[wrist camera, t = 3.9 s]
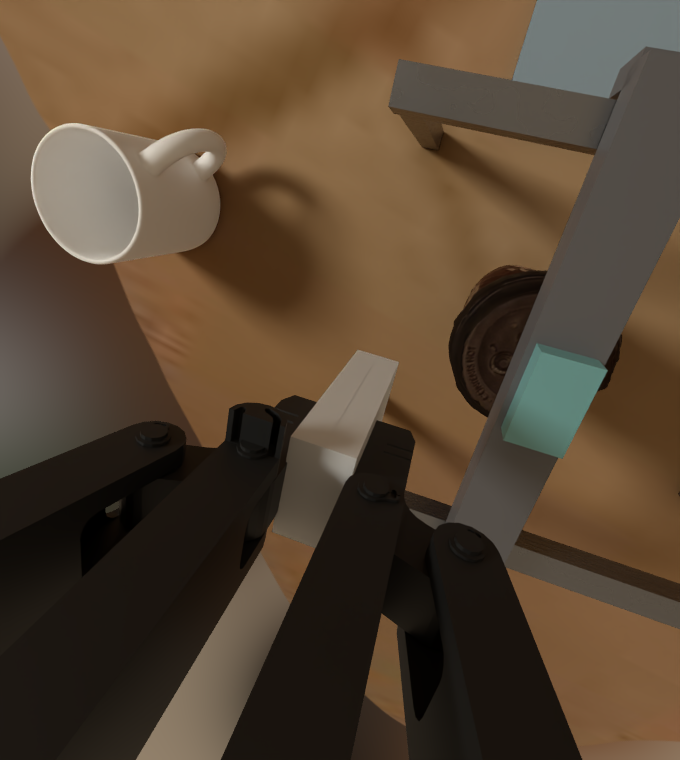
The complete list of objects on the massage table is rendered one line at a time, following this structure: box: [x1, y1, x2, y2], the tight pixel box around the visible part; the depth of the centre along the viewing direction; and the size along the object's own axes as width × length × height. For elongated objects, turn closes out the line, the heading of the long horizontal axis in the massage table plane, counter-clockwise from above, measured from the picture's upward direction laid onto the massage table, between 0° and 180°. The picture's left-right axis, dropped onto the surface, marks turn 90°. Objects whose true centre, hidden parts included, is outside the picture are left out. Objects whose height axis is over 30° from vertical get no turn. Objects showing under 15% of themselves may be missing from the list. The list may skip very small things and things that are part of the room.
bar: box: [445, 46, 680, 564], centre depth 19 cm, size 3×24×5 cm, turn 167°
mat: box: [512, 0, 680, 98], centre depth 26 cm, size 12×9×1 cm
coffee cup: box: [449, 265, 622, 417], centre depth 28 cm, size 9×8×13 cm
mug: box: [31, 123, 227, 264], centre depth 32 cm, size 12×8×10 cm
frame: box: [388, 59, 680, 629], centre depth 26 cm, size 28×22×15 cm
